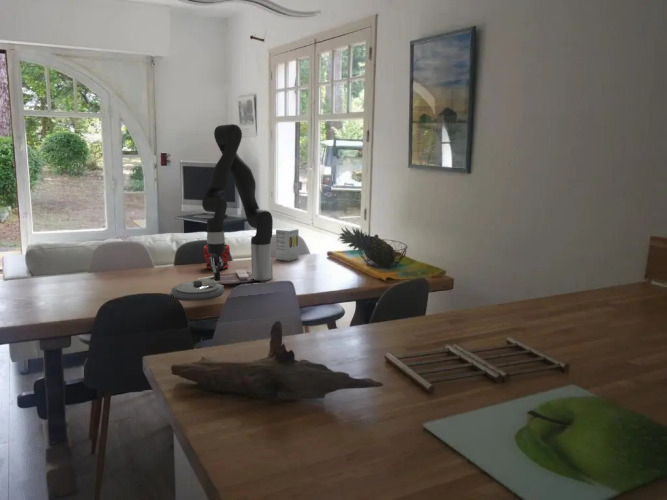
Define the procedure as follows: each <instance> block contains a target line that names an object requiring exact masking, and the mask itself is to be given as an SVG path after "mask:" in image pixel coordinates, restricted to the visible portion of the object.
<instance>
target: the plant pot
mask: <svg viewBox="0 0 667 500" xmlns="http://www.w3.org/2000/svg"><path fill="white" fill-rule="evenodd" d="M230 248H231V247H230V245H229V244H226V243H225V252H224V253H222V262H225V265H224V268H223V270H225V269H227V268H229V265H230V264H229V263H228V262H229V259H230V251H231V250H230ZM203 256H204V260H205V262H206V264H205V267H206V268H207V270H208V269H209V270H212V269H211V266H210V262H209V258H211V254H210V253H208V252H207V244H206V245H204V246H203Z"/></svg>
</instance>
